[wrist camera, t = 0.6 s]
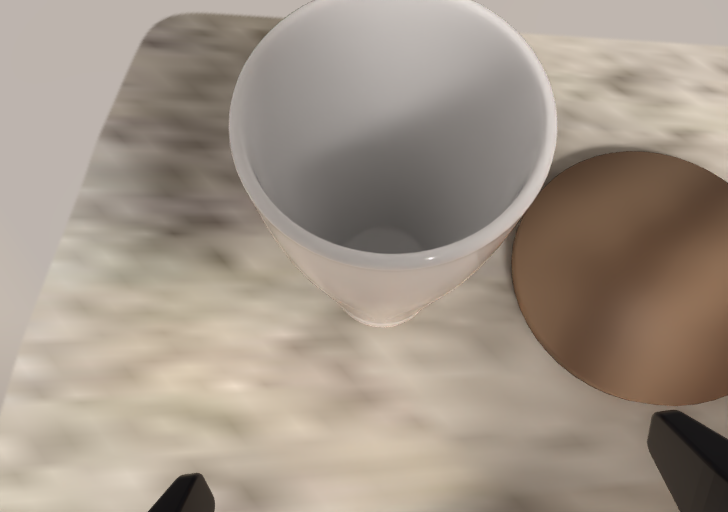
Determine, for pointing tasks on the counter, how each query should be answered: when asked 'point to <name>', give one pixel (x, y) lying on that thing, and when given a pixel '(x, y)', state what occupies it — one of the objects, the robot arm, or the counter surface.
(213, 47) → the counter surface
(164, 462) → the counter surface
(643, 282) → the walnut coaster
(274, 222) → the white tapered cylinder
